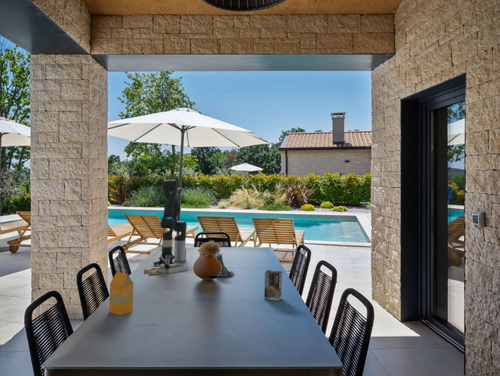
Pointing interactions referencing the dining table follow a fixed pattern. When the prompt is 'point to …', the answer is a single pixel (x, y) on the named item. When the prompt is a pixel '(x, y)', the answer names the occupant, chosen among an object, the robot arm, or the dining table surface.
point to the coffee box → (273, 285)
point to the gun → (161, 263)
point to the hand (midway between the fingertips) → (166, 268)
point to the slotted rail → (155, 270)
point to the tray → (181, 268)
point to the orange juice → (121, 294)
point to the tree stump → (224, 268)
